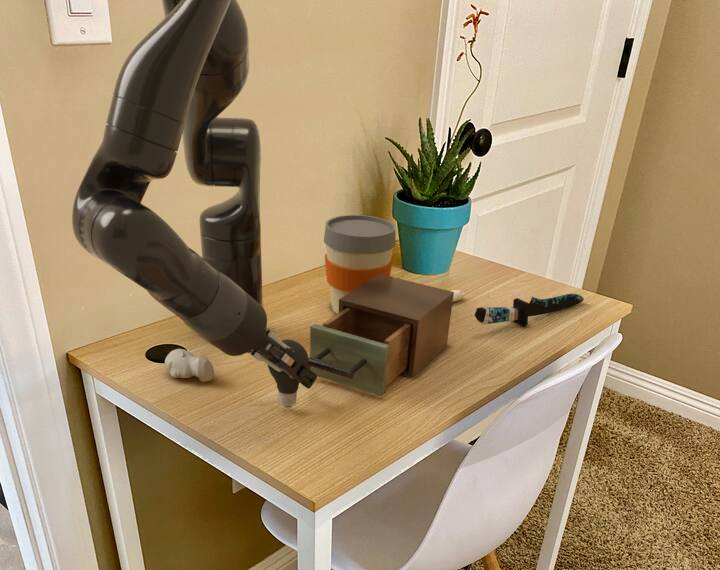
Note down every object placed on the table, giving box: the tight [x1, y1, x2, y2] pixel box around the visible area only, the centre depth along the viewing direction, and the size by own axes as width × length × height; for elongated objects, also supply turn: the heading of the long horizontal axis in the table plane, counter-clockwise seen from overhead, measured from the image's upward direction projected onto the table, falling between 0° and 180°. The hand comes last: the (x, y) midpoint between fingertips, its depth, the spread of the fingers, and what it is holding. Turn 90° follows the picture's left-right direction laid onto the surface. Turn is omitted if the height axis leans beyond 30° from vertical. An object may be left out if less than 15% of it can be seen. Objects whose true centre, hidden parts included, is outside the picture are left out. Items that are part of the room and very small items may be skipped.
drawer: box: [308, 307, 413, 397], centre depth 112 cm, size 18×12×8 cm
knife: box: [474, 293, 585, 327], centre depth 136 cm, size 31×3×4 cm, turn 125°
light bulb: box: [267, 339, 309, 409], centre depth 103 cm, size 6×6×10 cm
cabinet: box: [339, 274, 454, 379], centre depth 121 cm, size 14×14×10 cm
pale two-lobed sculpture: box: [164, 348, 215, 383], centre depth 112 cm, size 4×8×5 cm
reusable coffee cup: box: [323, 214, 397, 314], centre depth 133 cm, size 12×13×15 cm
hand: (297, 372), depth 104 cm, fingers closed on light bulb, 5 cm apart
